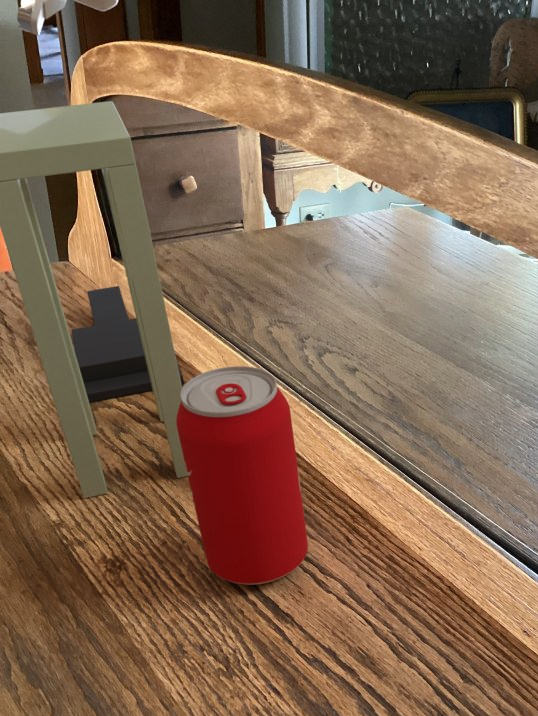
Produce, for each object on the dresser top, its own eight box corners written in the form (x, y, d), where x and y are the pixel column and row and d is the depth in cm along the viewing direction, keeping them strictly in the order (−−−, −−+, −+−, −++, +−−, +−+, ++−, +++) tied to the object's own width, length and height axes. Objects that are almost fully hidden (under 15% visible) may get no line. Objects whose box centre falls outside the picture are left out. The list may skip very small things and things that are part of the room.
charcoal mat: (66, 359, 78) (63, 351, 78) (168, 341, 81) (167, 332, 80) (72, 406, 72) (70, 397, 71) (184, 384, 74) (182, 375, 73)
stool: (74, 429, 69) (-20, 115, 55) (178, 408, 71) (112, 100, 57) (84, 498, 61) (-22, 154, 48) (199, 473, 63) (130, 136, 50)
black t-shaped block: (68, 306, 86) (65, 292, 85) (142, 294, 88) (139, 280, 87) (81, 383, 73) (77, 367, 72) (167, 367, 75) (164, 351, 74)
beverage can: (293, 520, 58) (271, 353, 51) (321, 577, 54) (301, 401, 46) (199, 544, 57) (161, 374, 49) (219, 604, 52) (181, 427, 45)
